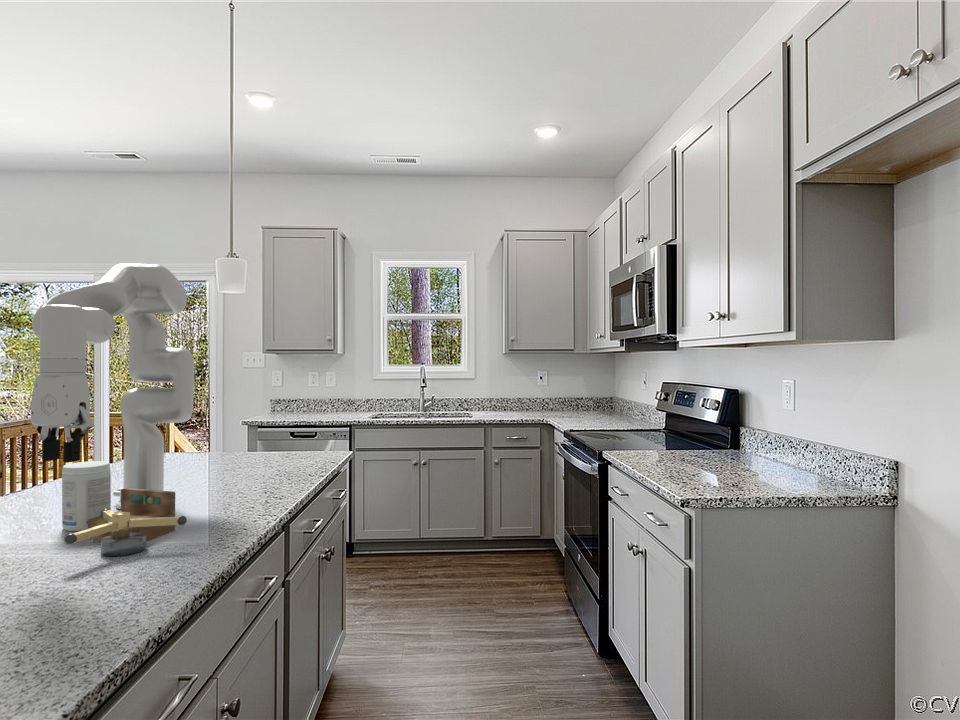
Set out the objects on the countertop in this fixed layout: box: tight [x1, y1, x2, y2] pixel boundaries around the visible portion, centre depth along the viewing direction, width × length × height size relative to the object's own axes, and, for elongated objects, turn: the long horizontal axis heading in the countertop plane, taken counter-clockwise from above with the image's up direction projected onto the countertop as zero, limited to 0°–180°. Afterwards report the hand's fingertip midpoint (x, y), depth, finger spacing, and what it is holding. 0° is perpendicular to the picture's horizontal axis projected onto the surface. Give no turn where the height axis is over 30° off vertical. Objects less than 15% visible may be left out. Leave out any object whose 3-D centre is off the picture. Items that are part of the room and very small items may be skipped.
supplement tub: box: [61, 460, 112, 532], centre depth 142 cm, size 10×10×15 cm
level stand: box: [88, 487, 176, 542], centre depth 136 cm, size 14×10×9 cm
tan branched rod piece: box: [63, 509, 188, 557], centre depth 122 cm, size 22×19×7 cm
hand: (61, 459), depth 119 cm, fingers open, 4 cm apart
